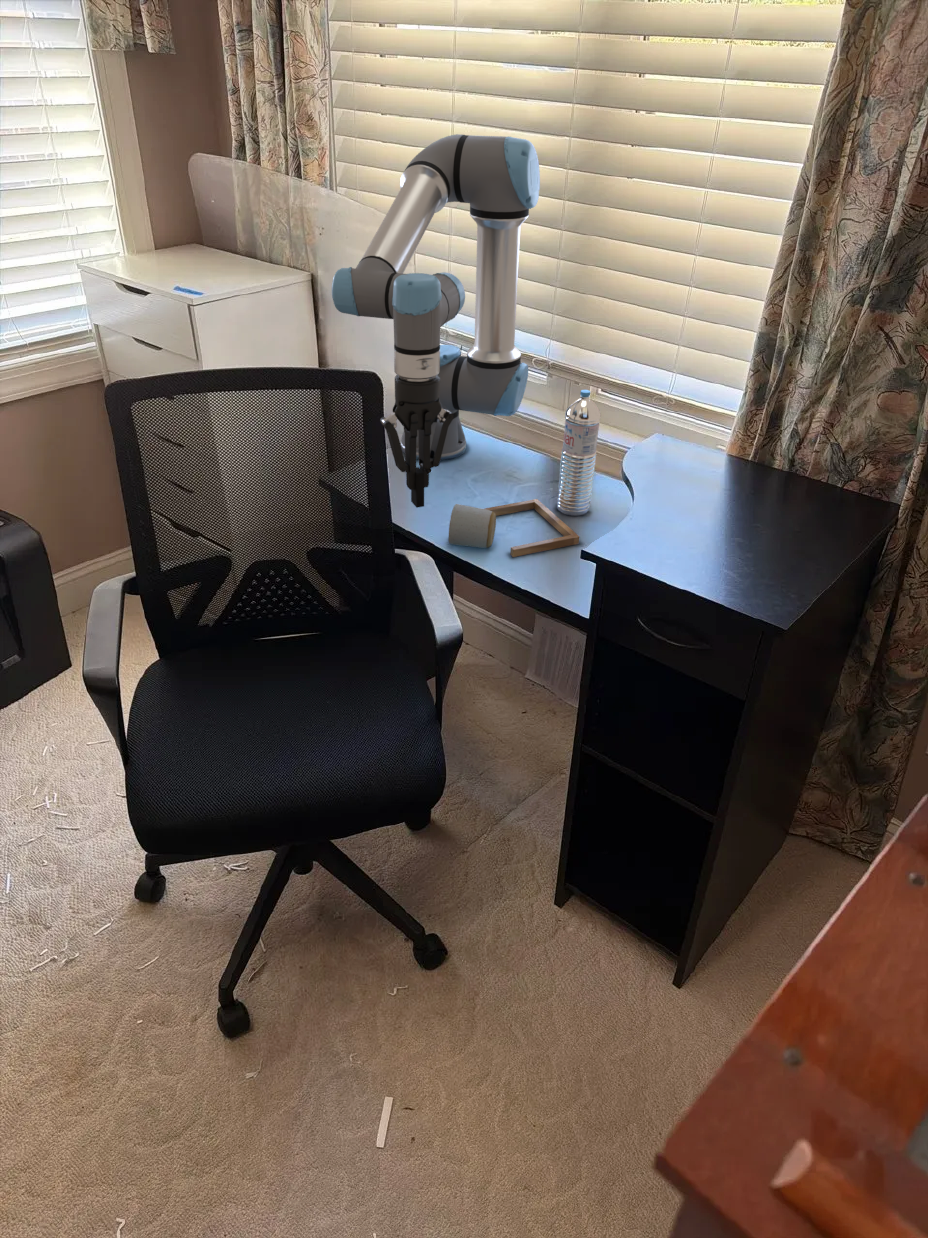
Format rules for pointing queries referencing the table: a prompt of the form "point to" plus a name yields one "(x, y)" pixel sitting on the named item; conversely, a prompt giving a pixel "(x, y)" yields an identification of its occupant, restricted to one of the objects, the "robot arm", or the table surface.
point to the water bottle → (578, 456)
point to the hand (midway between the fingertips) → (417, 503)
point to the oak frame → (567, 532)
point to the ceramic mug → (471, 526)
